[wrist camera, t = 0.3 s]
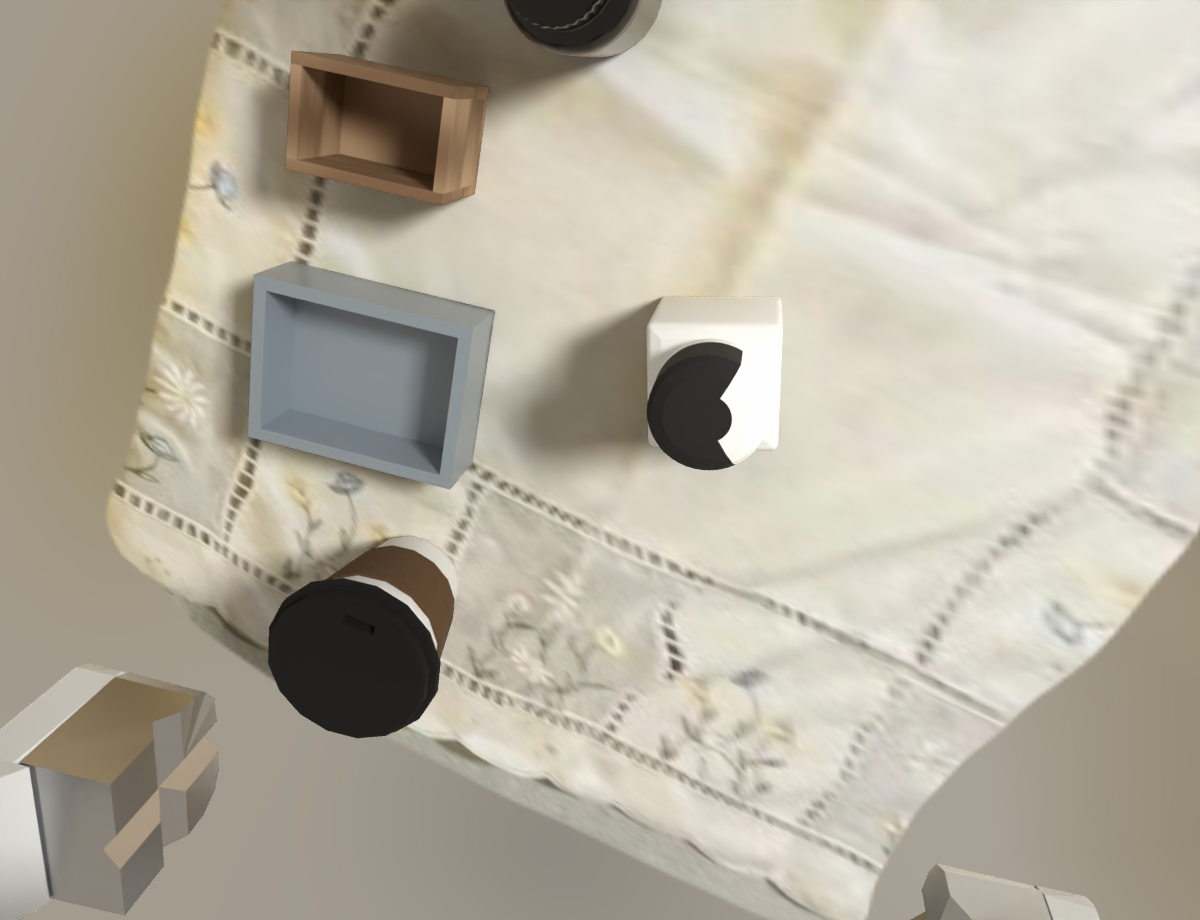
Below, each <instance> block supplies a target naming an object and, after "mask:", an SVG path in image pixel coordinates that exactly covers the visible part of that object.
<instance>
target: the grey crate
mask: <svg viewBox="0 0 1200 920" xmlns="http://www.w3.org/2000/svg"><path fill="white" fill-rule="evenodd" d="M494 314H495V311H494V310H490V309H486V308H482V307H477V306H473V305H469V304H465V303H461V302H457V301H453V300H448V299H444V298H440V297H436V296H432V295H428V294H424V293H420V292H415V291H411V290H407V289H403V288H399V287H395V286H391V285H387V284H382V283H378V282H374V281H370V280H366V279H362V278H358V277H353V276H349V275H345V274H341V273H337V272H333V271H329V270H325V269H320V268H316V267H312V266H308V265H304V264H300V263H296V262H292V261H291V262H288V263H285V264H282V265H280V266H277V267H274V268H271V269H268V270H266V271H263V272H260V273H257V274H254V291H253V316H252V342H251V368H250V394H249V419H248V437H251V438H255V439H259V440H263V441H266V442H270V443H274V444H278V445H282V446H286V447H289V448H293V449H297V450H301V451H305V452H309V453H312V454H316V455H320V456H324V457H328V458H332V459H335V460H339V461H343V462H347V463H351V464H355V465H358V466H362V467H366V468H370V469H374V470H378V471H381V472H385V473H389V474H393V475H397V476H401V477H404V478H408V479H412V480H416V481H420V482H424V483H427V484H431V485H435V486H439V487H443V488H447V489H451V488H452V487H453V485H454V484H455V483H456V482H457V481H458V479H459V478H460V477H461V476H462V474H463V473H464V472H465V471H466V469H467V468H468V467H469V466H470V465H471V463H472V460H473V453H474V447H475V440H476V433H477V427H478V420H479V414H480V407H481V400H482V394H483V387H484V380H485V374H486V367H487V361H488V354H489V347H490V341H491V334H492V327H493V321H494Z"/></svg>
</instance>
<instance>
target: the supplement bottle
mask: <svg viewBox="0 0 1200 920" xmlns="http://www.w3.org/2000/svg"><path fill="white" fill-rule="evenodd" d="M661 2H662V0H504V3H505V6H506V8H507V11H508V13H509V15H510V17H511V18H512V20H513V22H514V23H515V25H516V26H517V27H518V29H519V30H520V31H521V32H522V33H523V34H524V35H525V36H526V37H527V38H528V39H529V40H530V41H532V42H533V43H534V44H536V45H537V46H539V47H541V48H543V49H545V50H547V51H550V52H552V53H556V54H560V55H565V56H578V57H594V58H598V57H609V56H614V55H617V54H620V53H622V52H624V51H626V50H628V49H630V48H631V47H633V46H634V45H636V44H637V43H638V42H639V41H640V40H641V39H642V38H643V37H644V36H645V35H646V34H647V33H648V31H649V30H650V28H651V27H652V25H653V23H654V22H655V19H656V17H657V15H658V12H659V9H660V6H661Z"/></svg>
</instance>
